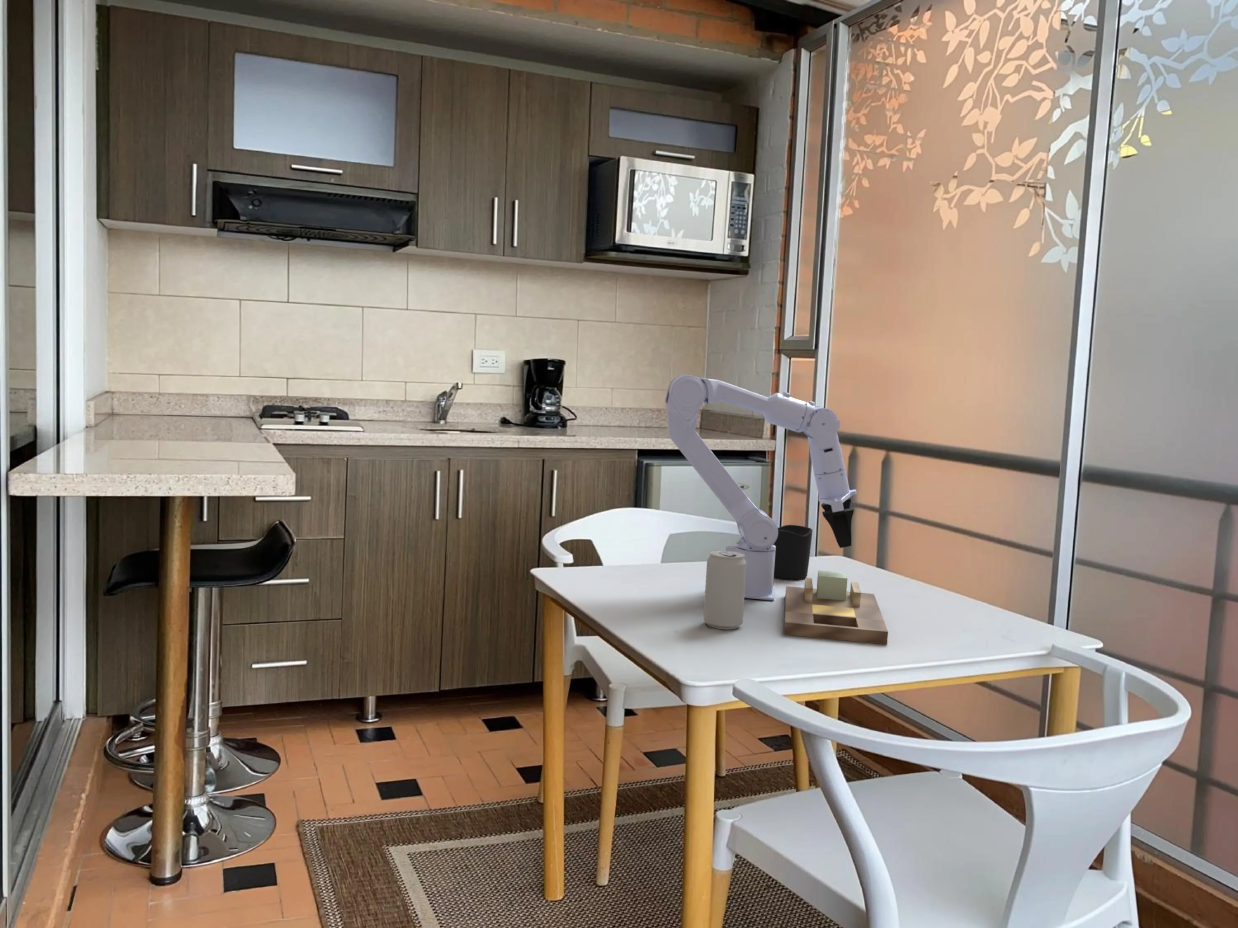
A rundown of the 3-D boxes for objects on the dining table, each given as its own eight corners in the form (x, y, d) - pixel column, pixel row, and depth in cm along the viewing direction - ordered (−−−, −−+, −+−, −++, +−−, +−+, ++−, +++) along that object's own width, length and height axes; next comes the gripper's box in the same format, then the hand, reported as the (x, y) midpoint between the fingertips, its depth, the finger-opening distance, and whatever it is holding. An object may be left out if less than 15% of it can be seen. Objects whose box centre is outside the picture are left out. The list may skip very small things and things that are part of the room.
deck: (784, 634, 166) (786, 606, 165) (785, 596, 193) (787, 572, 193) (887, 644, 163) (889, 616, 163) (873, 604, 191) (875, 580, 190)
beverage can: (716, 631, 165) (721, 557, 164) (695, 621, 171) (700, 550, 169) (749, 629, 168) (755, 556, 167) (728, 619, 174) (732, 548, 172)
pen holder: (808, 582, 207) (812, 533, 206) (761, 578, 209) (764, 529, 208) (809, 573, 216) (813, 526, 215) (764, 569, 218) (767, 522, 217)
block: (817, 597, 184) (818, 575, 184) (816, 592, 189) (818, 570, 189) (845, 600, 183) (847, 578, 183) (844, 594, 188) (846, 572, 188)
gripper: (853, 472, 183) (869, 546, 185) (849, 461, 197) (863, 530, 199) (814, 480, 184) (829, 553, 186) (812, 468, 199) (826, 537, 200)
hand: (844, 542), depth 192 cm, fingers open, 7 cm apart
